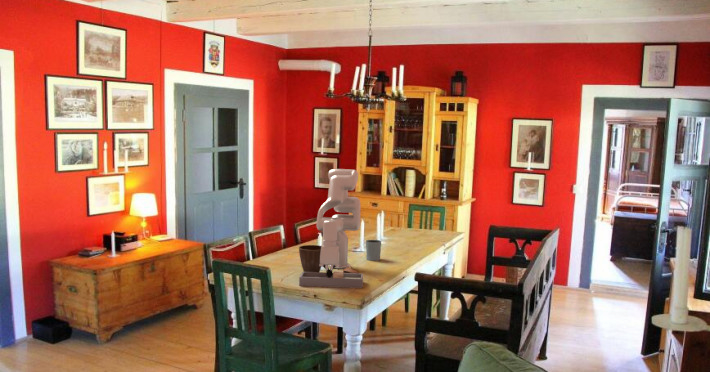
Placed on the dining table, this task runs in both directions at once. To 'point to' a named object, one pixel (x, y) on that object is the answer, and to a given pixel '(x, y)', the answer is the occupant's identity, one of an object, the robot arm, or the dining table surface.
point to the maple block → (338, 274)
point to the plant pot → (310, 258)
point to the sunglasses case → (349, 270)
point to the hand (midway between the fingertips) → (329, 277)
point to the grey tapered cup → (373, 250)
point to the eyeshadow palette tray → (330, 280)
